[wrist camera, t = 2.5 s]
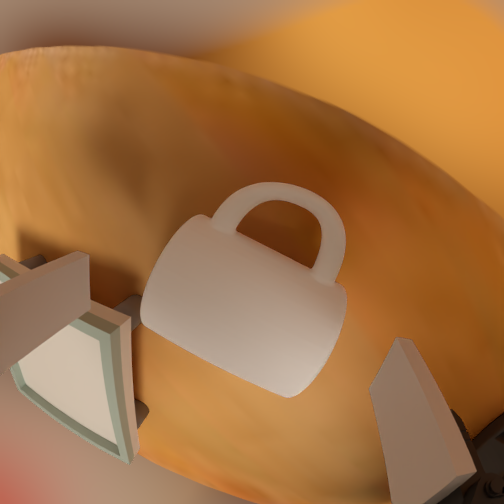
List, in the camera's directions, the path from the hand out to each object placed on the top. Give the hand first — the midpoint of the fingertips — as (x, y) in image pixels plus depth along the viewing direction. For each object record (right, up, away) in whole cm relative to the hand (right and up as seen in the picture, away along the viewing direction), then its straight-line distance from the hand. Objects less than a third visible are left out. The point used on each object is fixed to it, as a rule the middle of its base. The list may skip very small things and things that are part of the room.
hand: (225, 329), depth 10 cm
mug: (+2, +2, +10) cm, 11 cm away
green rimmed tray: (-17, -7, +16) cm, 24 cm away
